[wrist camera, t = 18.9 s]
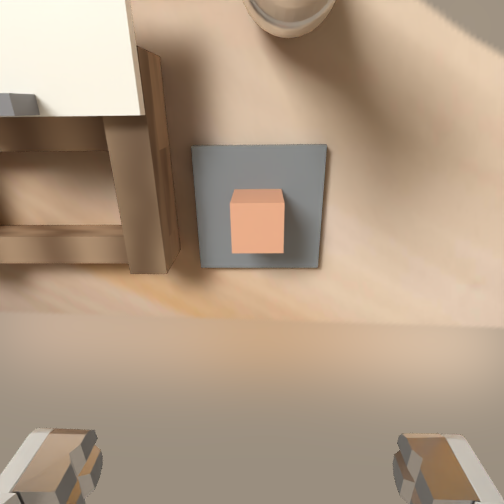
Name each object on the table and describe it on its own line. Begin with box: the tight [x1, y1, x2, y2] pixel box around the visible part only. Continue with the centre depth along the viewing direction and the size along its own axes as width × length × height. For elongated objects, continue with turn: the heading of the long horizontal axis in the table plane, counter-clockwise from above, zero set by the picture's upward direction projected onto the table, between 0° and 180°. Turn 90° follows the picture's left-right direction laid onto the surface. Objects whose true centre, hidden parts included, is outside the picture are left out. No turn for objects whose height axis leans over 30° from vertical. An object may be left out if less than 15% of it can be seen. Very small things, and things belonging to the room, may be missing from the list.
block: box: [230, 189, 285, 253], centre depth 27 cm, size 4×4×4 cm
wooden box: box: [0, 46, 180, 274], centre depth 27 cm, size 21×16×5 cm
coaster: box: [191, 144, 327, 268], centre depth 30 cm, size 11×11×1 cm
